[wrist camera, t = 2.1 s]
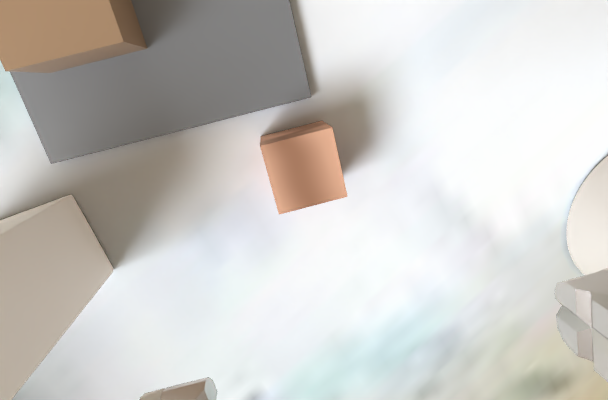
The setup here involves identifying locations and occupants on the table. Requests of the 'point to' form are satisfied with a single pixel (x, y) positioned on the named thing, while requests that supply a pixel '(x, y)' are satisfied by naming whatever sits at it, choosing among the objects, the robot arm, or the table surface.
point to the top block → (303, 166)
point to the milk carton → (43, 284)
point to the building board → (146, 66)
